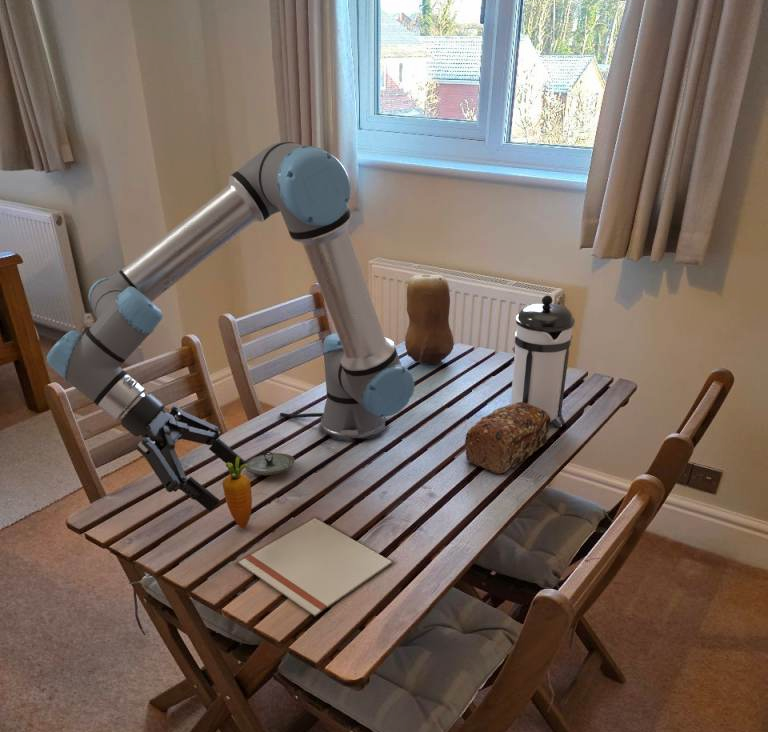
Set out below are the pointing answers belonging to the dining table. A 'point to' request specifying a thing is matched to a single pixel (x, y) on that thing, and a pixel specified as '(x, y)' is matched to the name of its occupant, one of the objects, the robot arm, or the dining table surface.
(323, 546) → the napkin
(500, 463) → the bread
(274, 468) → the lid
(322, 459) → the dining table surface
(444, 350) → the butternut squash
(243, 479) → the carrot
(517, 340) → the coffee press
